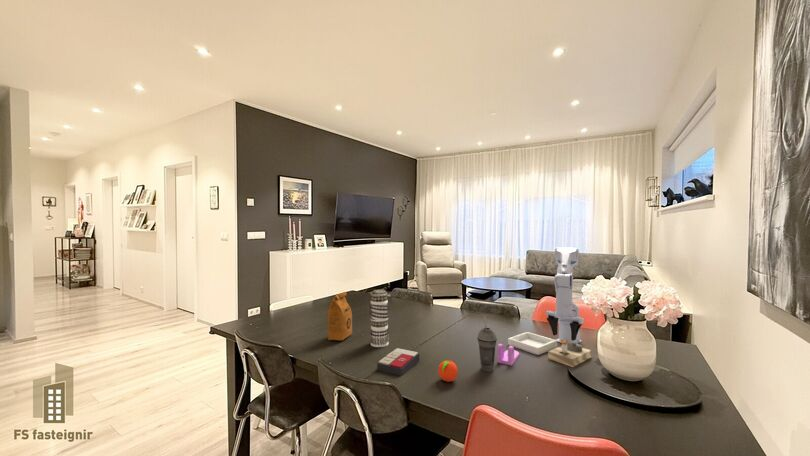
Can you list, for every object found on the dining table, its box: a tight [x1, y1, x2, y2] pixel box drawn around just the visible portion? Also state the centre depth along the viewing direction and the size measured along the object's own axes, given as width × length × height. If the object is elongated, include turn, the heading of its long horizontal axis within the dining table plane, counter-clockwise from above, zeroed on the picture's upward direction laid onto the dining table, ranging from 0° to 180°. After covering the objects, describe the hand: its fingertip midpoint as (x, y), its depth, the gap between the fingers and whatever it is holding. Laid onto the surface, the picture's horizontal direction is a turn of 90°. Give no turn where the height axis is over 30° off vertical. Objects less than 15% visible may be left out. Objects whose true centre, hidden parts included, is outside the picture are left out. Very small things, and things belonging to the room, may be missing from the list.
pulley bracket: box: [547, 342, 592, 368], centre depth 133 cm, size 15×10×6 cm, turn 126°
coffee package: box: [327, 291, 353, 342], centre depth 160 cm, size 10×12×22 cm
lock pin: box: [561, 340, 568, 355], centre depth 130 cm, size 3×3×8 cm
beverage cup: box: [477, 315, 498, 372], centre depth 124 cm, size 7×7×20 cm
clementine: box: [437, 359, 459, 383], centre depth 114 cm, size 8×7×7 cm
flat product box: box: [376, 347, 421, 377], centre depth 128 cm, size 11×4×15 cm
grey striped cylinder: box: [368, 289, 390, 348], centre depth 152 cm, size 9×9×25 cm
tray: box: [507, 331, 558, 356], centre depth 147 cm, size 15×15×3 cm
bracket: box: [496, 343, 520, 367], centre depth 133 cm, size 13×6×7 cm, turn 145°
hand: (564, 337), depth 130 cm, fingers open, 7 cm apart
